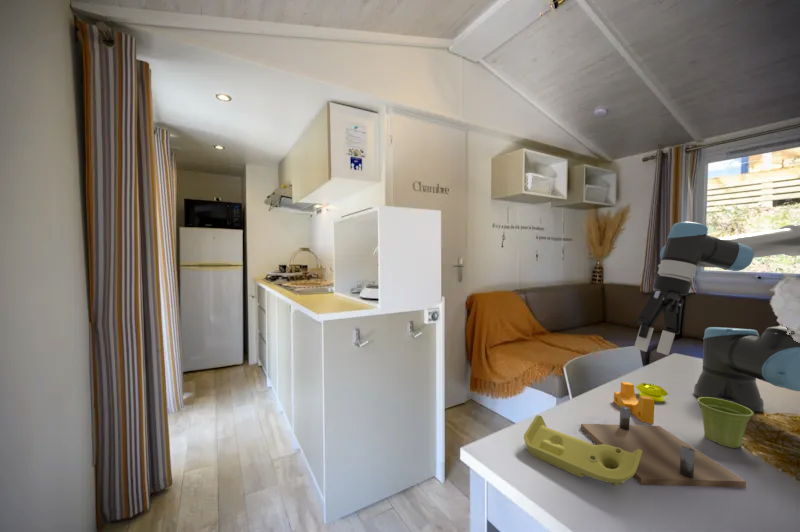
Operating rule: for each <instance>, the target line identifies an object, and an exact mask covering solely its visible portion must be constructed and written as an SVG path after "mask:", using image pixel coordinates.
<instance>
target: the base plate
mask: <svg viewBox="0 0 800 532" xmlns="http://www.w3.org/2000/svg"><path fill="white" fill-rule="evenodd" d="M619 426H620V424H608V423H607V424H606V423H605V424H603V423H602V424H601V423H599V424H598V423H597V424H596V423H580V429H581V431H583V432H584V433H585V434H586V435H587V436H588V437H589V438H590V439H591V440H592V441H594V442H595V443H596V444H597V445H601V444H604V445H610V446H613V447H619V448H621V449H622V450H625V451H628V452H630V453H632V452H634V451H636V450H637V449H640V450H642V454H641V458H640V461H639V465H638V467H637V470H636V472H635V474H634V476H633V477H632V478H633V479H634V480H637V481H636V482H637V483H639V484H640V485H642V486H671V487H672V486H674V487H708V488H709V487H710V488H716V487H717V488H747V481H746V480H745V479H743V478H742V477H740V476H738V475H737V474H735V473H734V472H732V471H731V470H729V469H728V468H726V467H725V466H723V465H721V464H720V463H718V462H717V461H715V460H713V459H712V458H710V457H709V456H707V455H705V454H703V453H702V452H701V451H699V450H698V449H696V448H695V447H693V446H692V445H690V444H689V443H688V442H685V441H684V440H682V439H681V438H679V437H678V436H676V435H674V434H673V433H671V432H670V431H668V430H666V428H664V427H662V426H660V425H646V424H645V425H643V424H642V425H641V424H630V425H629V430H624V429H621V428H620V427H619ZM682 446H685V447H689V448H691V449H693V450H694V451H695V458H694V477H693V478H688V477H685V476H683V475H681V474H680V456H681V447H682Z"/></svg>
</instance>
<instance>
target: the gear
mask: <svg viewBox="0 0 800 532" xmlns="http://www.w3.org/2000/svg"><path fill="white" fill-rule="evenodd" d="M635 388H636V389H637V390H638V391H639V394H638V396H639V397H640V396H647V397H651V398H653V399H654V400H655V402H656V403H663V402H664V401H665V397H666V396H667V395H669V393H668V391H667V390H665V389H664V388H663V387H661V386H660V385H657V384H652V383H649V382H648V383H647V382H641V383H639V384H637V385H636V386H635Z"/></svg>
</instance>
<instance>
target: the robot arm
mask: <svg viewBox="0 0 800 532" xmlns="http://www.w3.org/2000/svg"><path fill="white" fill-rule="evenodd" d="M708 230H709V227H708V226H707V225H705V224H703V223H699V222H695V221H693V222H692V221H679V222H676V223H674V224H673V225H672V227H671V228H670V231H669V233H668V236H667V238H666V242H665V245H664V246H663V247H662V248H661V250H660V252H659V258H660V260H661V261H660V264H658V265H657V267H658V271H657V274H658V275H657V276H656V277H655V280H654V283H653V290H652V292H651V294H650V296H649V298H648V301H647V302H646V303H645V306H643V309H642V311H641V312H640V314H639V316H637V317H638V318H637V321H636V324H638V325H640V327H639V329H638V333H637V337H636V340H635V342H634V346H633V348H634V349H637V350H640V351H641V352H645V353H646V352H648V349H649V345H650V342H651V339H652V335H653V333H654V332H653V331H654V330H655V328H654V327H653V326H654V325H655V323H657V321H658V320H659V319H660V317H661V316H662V315H663V322H664V329H663V330H661V331H662V332H661V335H660V337H659V338H660V339H659V341H658V343H657V348H656V353H660V354H663V355H665V356H669V355H670V351H671V348H672V346H673V342H674V339H675V335H680V334H681V324H682V314H683V306H684V302H685V301H684V300H685V299H682V298H680V296H688V295H689V293H690V289H691V286H692V283H691V281H692V280H694V279H695V278H694V277H695V274H696V270H697V268H719V269H722V270H724V271H731V272H741V271H743V270H745V269H746V268H748V267H749V266H750V265H752V262H753V260H754V258H762V257H763V258H764V257H770V256H771V257H772V256H779V255H785V256H787V257H788V256H790V257H796V256H800V222H799V223H795V224H787V225H784V226H781V227H779V228H778V229H775V230H766V231H760V232H753V233H752V232H751V233H744V234H737V235H730V236H729V235H728V236H723V237H721V236H720V237H715V236H711V235H708V234H709V233H708ZM786 333H787V328H786V327H784V326H782V325H781V323H780V324H779V325H778V326H771V327H770V326H769V327H767V328H766V329H765V330H764V332H763V333H762V334H761V335H760V334H759V332H758V330H757V329H751V328H748V329H747V328H739V327H738V328H736V327H718V326H713V327H712V326H710V327H706V328H705V329H704V335H703V337H702V341H703V343H702V345H703V346H702V371H701V373H700V375H699V377H698V380H697V381H696V383H695V385H694V387H693V394H694V395H695V397H697V398H700V397H711V398H718V399H723V400H727V401H731V402H734V403H737V404H740V405H742V406H745V407H747V408H749V409H750V410H752V411H753V413H756V411H760V412H763V410H764V405H765V404H764V399H762V397H761V394H760V389H759V387H758V385H757V379H758V380H760V381H762V382H763V381H764V382H766V383H769V384H771V385H773V386H775V387H778V388H783V389H786V390H790V391H793V392H794V391H795V392H800V343H798V342H796V341H794V340H793V338H792V337H791V336H790V335H787V334H786ZM789 334H790V333H789ZM791 334H793V332H791Z"/></svg>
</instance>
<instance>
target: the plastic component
mask: <svg viewBox="0 0 800 532" xmlns="http://www.w3.org/2000/svg"><path fill="white" fill-rule="evenodd" d="M523 440H524V443H525V447H526V449H527V451H528V453H529V455H531V456H533V457H535V458H537V459H539V460H541V461H544V462H546V463H548V464H550V465H551V466H554V467H557V468H558V469H561V470H563V471H565V472H567V473H569V474H572V475H574V476H576V477H579V478H583V477H584V476H587V477H589V478H591V479H595V480H598V481H603V482H606V483H611V484H614V485H613V486H616V485H621V486H622V485H623V484H624V483H623V482H627V481H628V480H630V479H631V478H633V476H634V474H635V472H636V470H637V467H638V465H639V461H640V458H641V454H642V450H640V449H637V450H636V451H634V452H632V453H630V452H628V451H625V450H622V449H621V448H619V447H613V446H610V445H604V444H601V445H598V444H597V445H596V444H593V443H591V442H588V441H585V440H582V439H580V438H577V437H575V436H573V435H568V434H565V433H563V432H560V431H558V430H555V429H552V428H549V427H548V426H547V424H546V422H545V420H544V418H543V417H542V415H539V414H536V415H535V417H534V419H533V420H532V422H531V423H530V424H529V426H528V428H527V429H526V431H525V433H524V435H523Z"/></svg>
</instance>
